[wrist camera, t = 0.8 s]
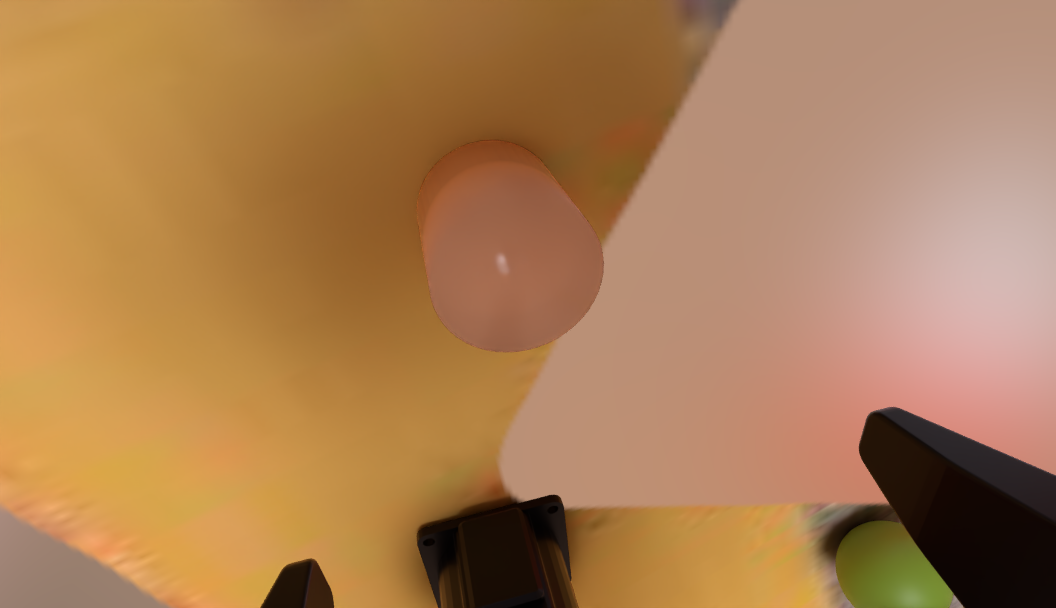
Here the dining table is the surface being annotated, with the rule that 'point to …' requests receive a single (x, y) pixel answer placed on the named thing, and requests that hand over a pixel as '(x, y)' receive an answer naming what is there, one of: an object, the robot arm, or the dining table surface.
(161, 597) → the dining table surface
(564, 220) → the terracotta cylinder
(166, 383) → the dining table surface
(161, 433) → the dining table surface
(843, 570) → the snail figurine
